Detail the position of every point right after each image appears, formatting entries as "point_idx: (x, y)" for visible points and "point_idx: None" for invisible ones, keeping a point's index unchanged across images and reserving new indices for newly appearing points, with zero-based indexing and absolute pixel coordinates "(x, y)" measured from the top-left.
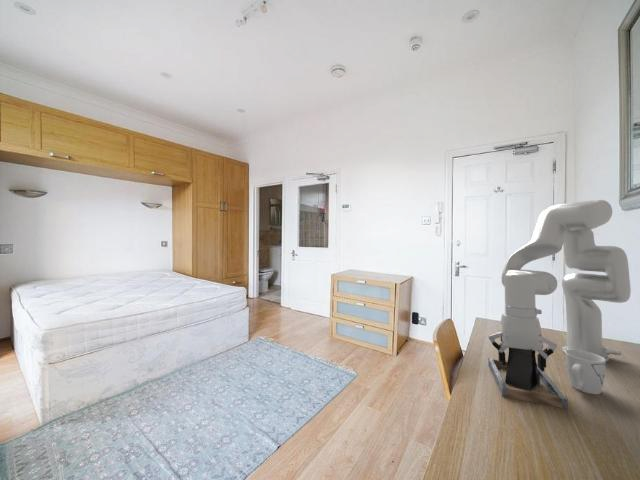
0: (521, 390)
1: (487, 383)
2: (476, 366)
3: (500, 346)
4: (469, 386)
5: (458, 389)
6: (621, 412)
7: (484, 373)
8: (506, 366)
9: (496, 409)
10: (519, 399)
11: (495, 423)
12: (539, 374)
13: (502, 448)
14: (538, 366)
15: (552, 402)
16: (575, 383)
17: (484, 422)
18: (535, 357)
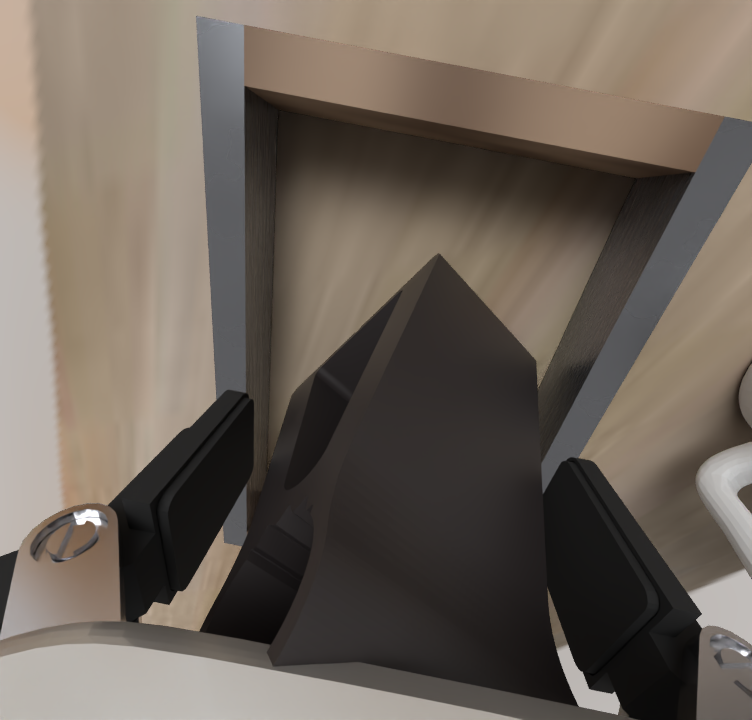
0: None
1: (194, 408)
2: (130, 144)
3: (66, 594)
4: (106, 449)
5: (63, 477)
6: (724, 550)
7: (188, 278)
8: (395, 124)
9: (206, 568)
10: None
11: (193, 613)
12: (606, 293)
13: None
14: (558, 480)
15: None
16: (710, 511)
17: (164, 612)
18: (549, 621)
